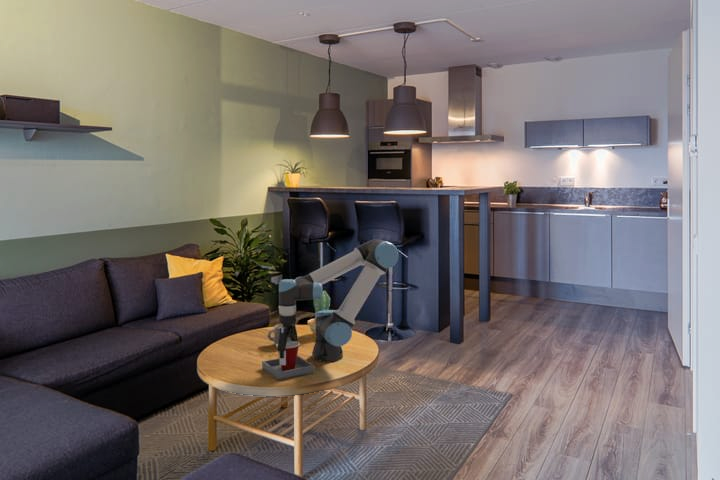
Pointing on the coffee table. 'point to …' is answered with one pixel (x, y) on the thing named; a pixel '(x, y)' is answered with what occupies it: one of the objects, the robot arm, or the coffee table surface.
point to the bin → (277, 372)
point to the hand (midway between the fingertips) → (288, 359)
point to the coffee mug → (276, 334)
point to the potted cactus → (319, 309)
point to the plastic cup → (290, 355)
